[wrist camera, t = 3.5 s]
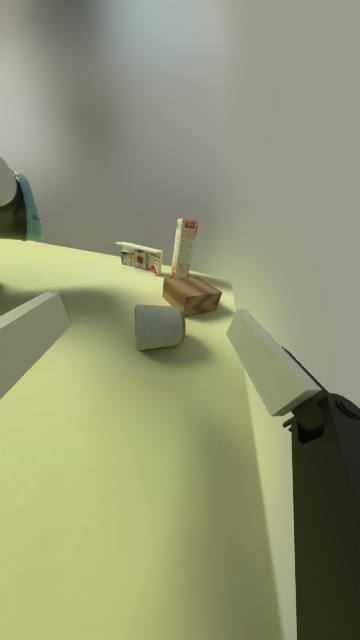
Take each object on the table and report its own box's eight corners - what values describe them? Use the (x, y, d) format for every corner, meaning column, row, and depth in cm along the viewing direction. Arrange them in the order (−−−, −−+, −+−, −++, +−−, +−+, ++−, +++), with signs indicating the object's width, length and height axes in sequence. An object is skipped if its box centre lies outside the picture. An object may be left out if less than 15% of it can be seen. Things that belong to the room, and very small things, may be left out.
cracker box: (187, 281, 56) (199, 221, 44) (173, 280, 55) (181, 217, 43) (183, 271, 67) (191, 221, 55) (171, 270, 66) (176, 218, 54)
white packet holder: (117, 266, 59) (115, 242, 54) (126, 264, 64) (124, 241, 58) (157, 277, 55) (159, 252, 50) (163, 274, 60) (165, 251, 54)
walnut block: (182, 318, 34) (186, 296, 30) (162, 297, 42) (163, 278, 38) (215, 310, 40) (222, 292, 36) (192, 293, 48) (196, 277, 44)
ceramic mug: (183, 352, 24) (191, 318, 20) (136, 360, 22) (134, 322, 17) (169, 319, 32) (172, 290, 28) (133, 322, 30) (131, 289, 25)
